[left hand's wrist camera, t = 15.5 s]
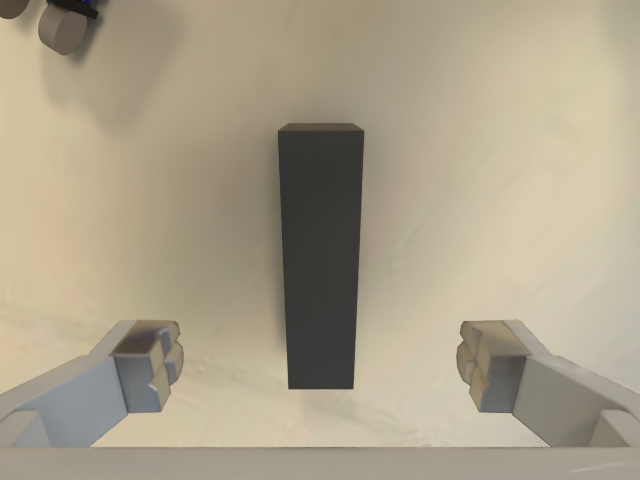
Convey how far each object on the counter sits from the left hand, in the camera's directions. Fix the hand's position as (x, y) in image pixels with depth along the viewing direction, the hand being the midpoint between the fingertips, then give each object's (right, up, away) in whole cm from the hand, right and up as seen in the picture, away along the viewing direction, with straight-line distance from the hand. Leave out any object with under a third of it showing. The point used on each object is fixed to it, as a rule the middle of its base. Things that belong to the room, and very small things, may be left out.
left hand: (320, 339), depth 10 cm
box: (0, +3, +27) cm, 27 cm away
